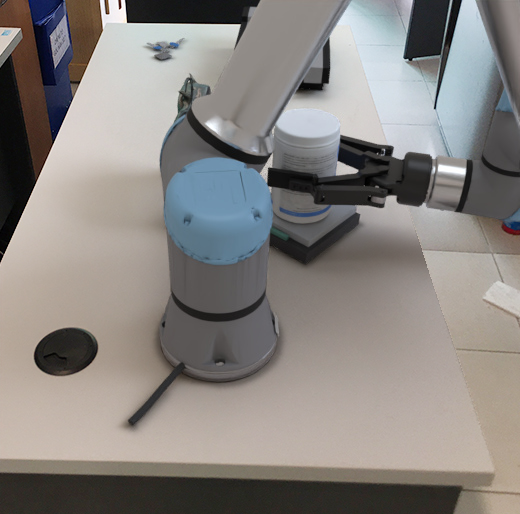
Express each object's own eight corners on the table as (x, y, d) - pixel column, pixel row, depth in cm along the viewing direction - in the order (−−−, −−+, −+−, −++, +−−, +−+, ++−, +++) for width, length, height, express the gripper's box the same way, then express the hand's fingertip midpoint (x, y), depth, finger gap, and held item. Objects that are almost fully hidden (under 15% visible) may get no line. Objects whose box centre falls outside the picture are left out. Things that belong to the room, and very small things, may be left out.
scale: (305, 264, 94) (307, 247, 92) (236, 226, 101) (236, 209, 99) (358, 224, 101) (361, 207, 99) (290, 191, 108) (292, 175, 106)
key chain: (169, 61, 149) (168, 58, 149) (136, 58, 151) (136, 54, 150) (185, 40, 159) (185, 36, 159) (154, 37, 161) (153, 34, 160)
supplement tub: (343, 213, 98) (357, 126, 88) (295, 233, 94) (304, 145, 84) (304, 185, 104) (312, 101, 94) (257, 203, 100) (261, 117, 90)
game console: (229, 95, 136) (230, 57, 131) (243, 40, 160) (244, 6, 154) (326, 100, 134) (331, 62, 129) (325, 44, 158) (329, 10, 152)
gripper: (419, 247, 85) (257, 221, 89) (425, 166, 100) (286, 147, 105) (432, 200, 80) (259, 175, 84) (436, 122, 95) (290, 104, 100)
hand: (274, 159), depth 94 cm, fingers closed on supplement tub, 9 cm apart
